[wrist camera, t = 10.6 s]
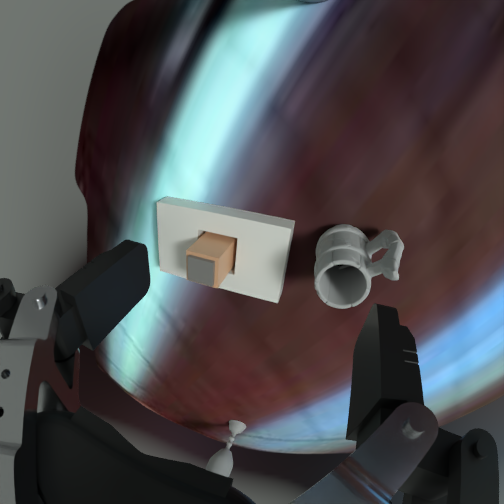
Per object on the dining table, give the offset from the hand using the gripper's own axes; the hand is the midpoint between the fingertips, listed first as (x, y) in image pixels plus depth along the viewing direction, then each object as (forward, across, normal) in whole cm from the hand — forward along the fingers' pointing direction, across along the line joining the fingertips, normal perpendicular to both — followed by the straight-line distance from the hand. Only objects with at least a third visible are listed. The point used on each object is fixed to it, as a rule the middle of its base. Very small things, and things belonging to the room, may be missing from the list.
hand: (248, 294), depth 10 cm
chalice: (+29, +5, +69) cm, 75 cm away
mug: (+30, -7, +10) cm, 32 cm away
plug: (+29, +12, +15) cm, 35 cm away
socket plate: (+29, +12, +15) cm, 35 cm away
